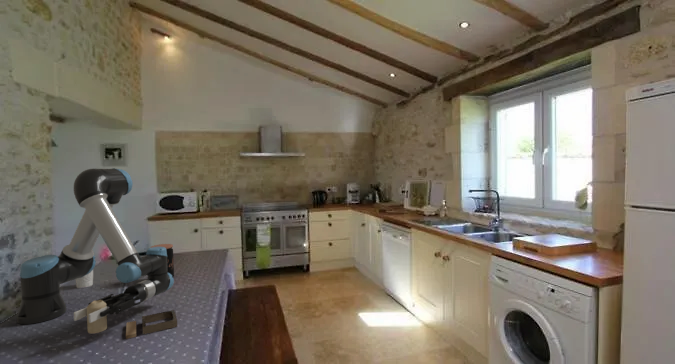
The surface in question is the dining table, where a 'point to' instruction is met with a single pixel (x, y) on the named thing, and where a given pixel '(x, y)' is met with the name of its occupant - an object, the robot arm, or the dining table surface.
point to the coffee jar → (168, 257)
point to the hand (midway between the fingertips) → (82, 317)
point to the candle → (100, 323)
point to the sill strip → (131, 329)
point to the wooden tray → (161, 325)
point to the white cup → (85, 281)
